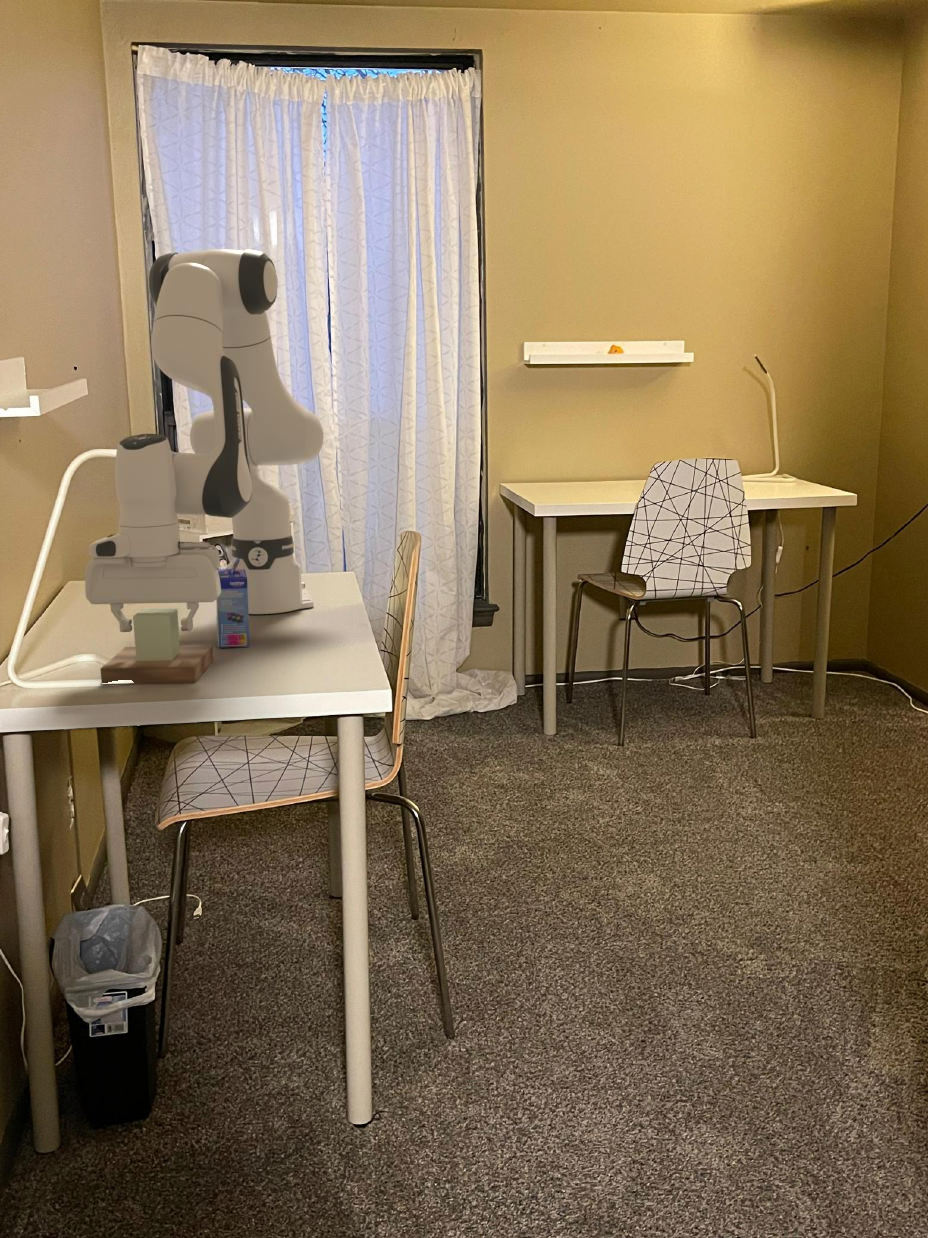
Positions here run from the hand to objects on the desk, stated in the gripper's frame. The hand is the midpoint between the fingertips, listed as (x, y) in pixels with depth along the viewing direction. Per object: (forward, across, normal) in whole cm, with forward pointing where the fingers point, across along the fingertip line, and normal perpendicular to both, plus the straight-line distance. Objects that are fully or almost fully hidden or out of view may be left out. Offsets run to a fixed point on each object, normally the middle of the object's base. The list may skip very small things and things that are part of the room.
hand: (156, 630), depth 180 cm
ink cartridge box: (+7, -8, -20) cm, 23 cm away
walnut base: (+7, 0, 0) cm, 7 cm away
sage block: (+4, 0, 0) cm, 4 cm away
